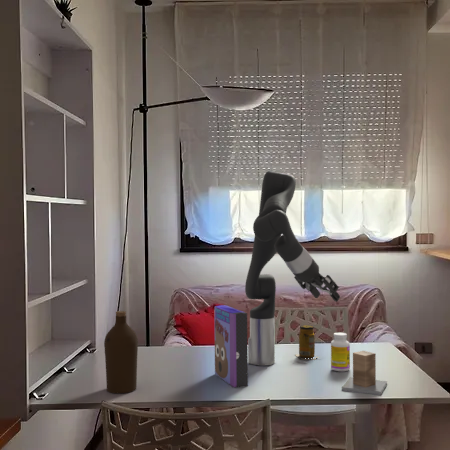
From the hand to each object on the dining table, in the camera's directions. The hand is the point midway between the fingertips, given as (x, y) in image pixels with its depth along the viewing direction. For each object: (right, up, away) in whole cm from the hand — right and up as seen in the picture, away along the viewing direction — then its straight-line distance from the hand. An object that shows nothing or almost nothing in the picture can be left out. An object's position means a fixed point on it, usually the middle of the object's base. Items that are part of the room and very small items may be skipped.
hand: (327, 297), depth 179 cm
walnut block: (+12, -28, +4) cm, 31 cm away
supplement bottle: (+9, -29, +25) cm, 40 cm away
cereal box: (-30, -30, +13) cm, 44 cm away
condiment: (0, -29, +44) cm, 52 cm away
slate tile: (+13, -29, +4) cm, 32 cm away
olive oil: (-65, -30, +4) cm, 72 cm away
